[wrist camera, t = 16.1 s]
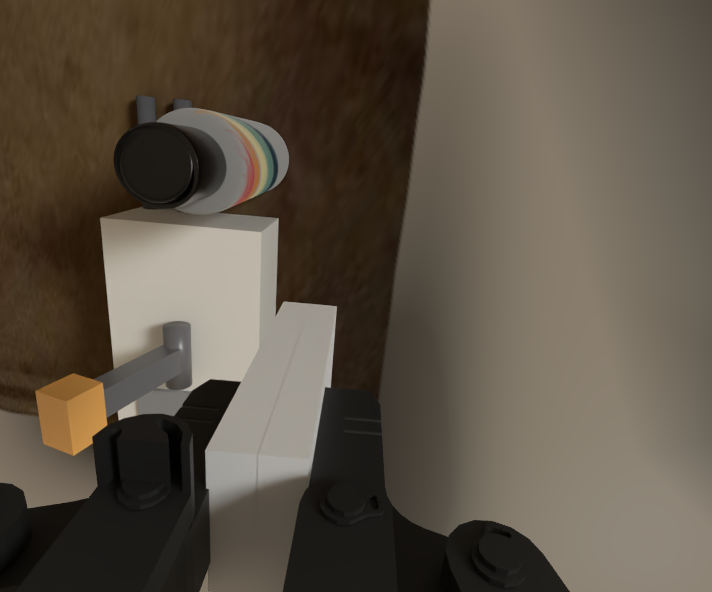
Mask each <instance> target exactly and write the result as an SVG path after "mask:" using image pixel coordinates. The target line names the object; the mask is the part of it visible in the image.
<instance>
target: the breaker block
mask: <svg viewBox="0 0 712 592" xmlns="http://www.w3.org/2000/svg"><path fill="white" fill-rule="evenodd" d="M100 222H101V233H102V244H103V255H104V266H105V277H106V288H107V299H108V310H109V320H110V331H111V342H112V353H113V364H114V369H115V368H117V367H119V366H121V365H123V364H125V363H127V362H129V361H131V360H133V359H135V358H137V357H139V356H141V355H143V354H145V353H147V352H149V351H151V350H153V349H155V348H157V347H159V346H161V345H163V325H164V324H166V323H168V322H173V321H184V322H188V323H190V325H191V352H192V385H191V386H190V387H188V388H186V389H183V390H170V389H168V388H167V387H166V383H163V384H162V385H160V386H159V387H157V388H155V389H154V390H152V391H150V392H149V393H147V394H145V395H144V396H142V397H140V398H139V399H137V400H135V401H134V402H132V403H130V404H129V405H127V406H126V407H124V408H122V409H121V410H119V411H118V418H119V420H121V419H123V418H128V417H132V416H137V415H141V414H166V415H171V416H174V415H175V414H176V413H177V411H178V410H179V408H180V407H181V408H182V404H183V403H184V401H185V400H186V399H187V397H188V396H189V394H190V393H191V392H192V390H194V389H195V388H197V387H198V386H200V385H202V384H203V383H205V382H207V381H208V380H210V379H215V380H227V381H239V382H242V380H243V378H244V376H245V374H246V372H247V370H248V368H249V367H250V365H251V363H252V361H253V359H254V357H255V355H256V353H257V351H258V349H259V348H260V346H261V344H262V342H263V340H264V338H265V336H266V334H267V332H268V331H269V329H270V327H271V325H272V323H273V321H274V319H275V312H276V281H277V249H278V218H270V217H259V216H248V215H236V214H225V213H214V214H210V215H192V214H187V213H184V212H178V211H177V209H155V210H151V209H143V207H139V208H136V209H132V210H128V211H124V212H120V213H117V214H113V215H109V216H105V217H102V218H100Z"/></svg>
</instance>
